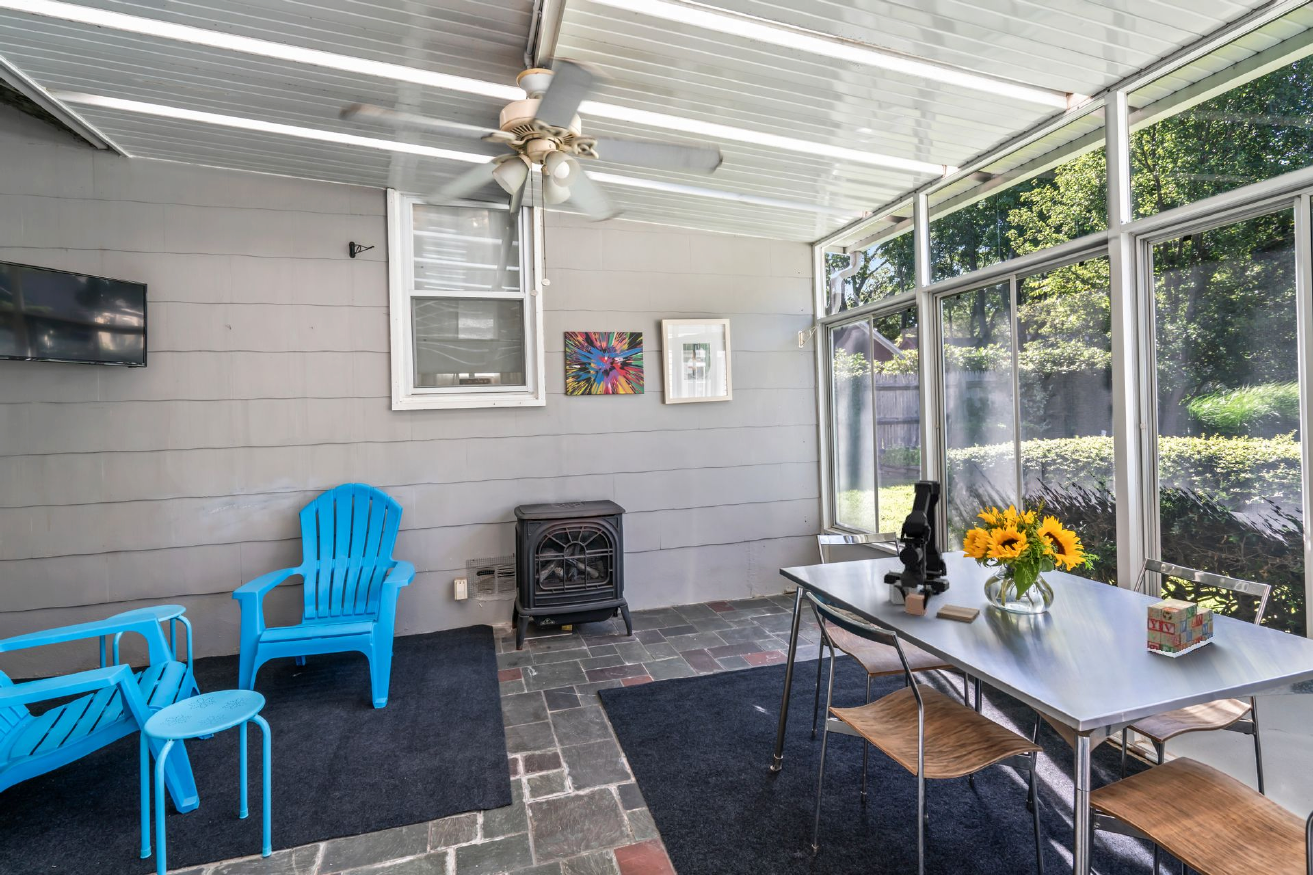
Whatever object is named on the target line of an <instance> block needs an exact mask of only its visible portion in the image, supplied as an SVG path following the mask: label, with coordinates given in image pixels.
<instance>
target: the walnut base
mask: <svg viewBox="0 0 1313 875" xmlns="http://www.w3.org/2000/svg"><path fill="white" fill-rule="evenodd" d="M980 611H981V609H978V608H971V607H965V606H964V607H963V606H958V605H951V604H944V606H943V605H942V607H941V608H939V610H937V611H936V618H939V619H940V618H941V619H946V620H952V621H958V622H959V621H960V622H963V621H965V623H969V624H972V623H973V622H974V621H975V620H976V619H977V618H978V617H979V616H980V613H981V612H980ZM978 615H979V616H978Z"/></svg>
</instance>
